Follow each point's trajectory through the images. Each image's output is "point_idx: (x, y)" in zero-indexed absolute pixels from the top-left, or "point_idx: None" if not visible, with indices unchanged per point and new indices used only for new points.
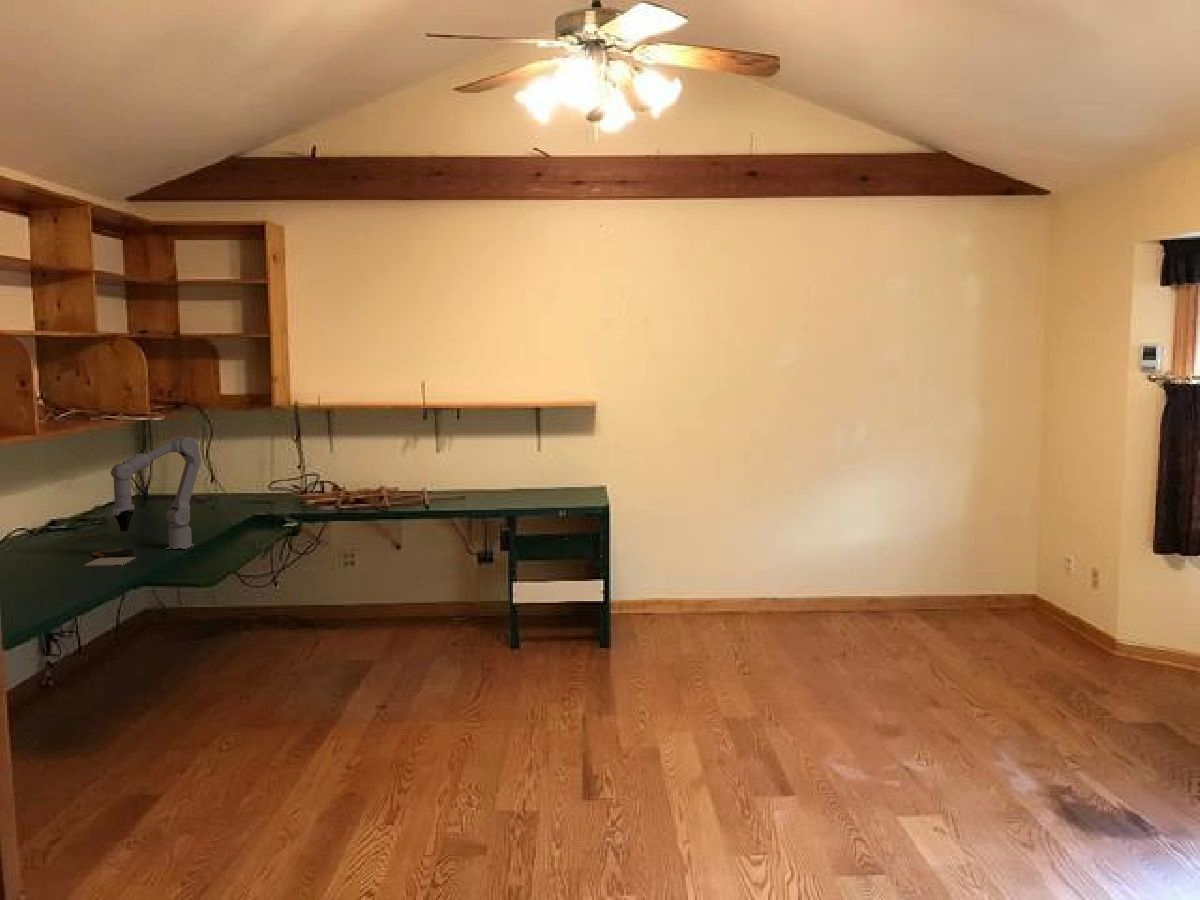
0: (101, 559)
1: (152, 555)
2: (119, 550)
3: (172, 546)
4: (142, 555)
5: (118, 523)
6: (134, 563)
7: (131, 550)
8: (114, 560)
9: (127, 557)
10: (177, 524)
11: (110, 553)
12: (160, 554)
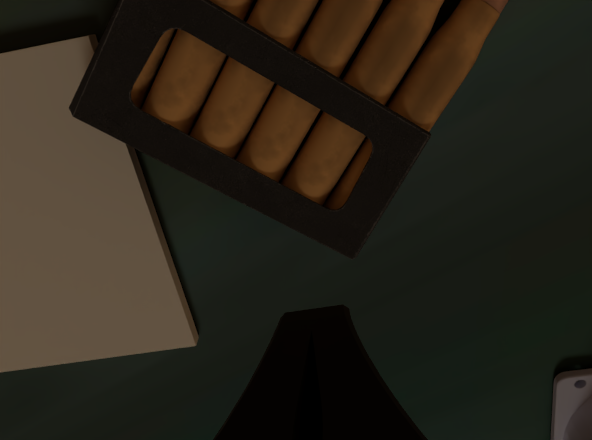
0: (17, 114)
1: None
2: (335, 118)
3: (577, 434)
4: None
5: (229, 419)
6: (55, 403)
7: (339, 247)
8: (28, 260)
9: (169, 291)
10: None
11: (135, 143)
12: None
